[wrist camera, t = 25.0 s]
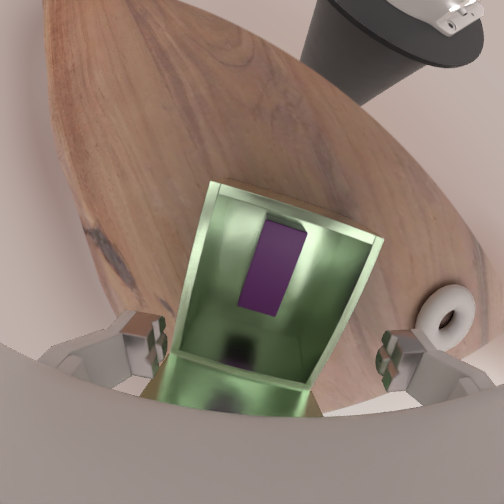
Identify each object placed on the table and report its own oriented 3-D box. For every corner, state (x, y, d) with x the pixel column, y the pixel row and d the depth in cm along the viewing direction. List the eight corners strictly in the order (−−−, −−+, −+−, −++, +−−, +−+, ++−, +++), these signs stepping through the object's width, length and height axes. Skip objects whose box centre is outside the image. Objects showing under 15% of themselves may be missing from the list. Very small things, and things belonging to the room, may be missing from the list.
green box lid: (82, 479, 7) (90, 519, 7) (374, 525, 7) (332, 559, 7) (169, 352, 23) (160, 392, 23) (311, 390, 23) (294, 426, 23)
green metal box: (227, 177, 27) (210, 180, 19) (352, 219, 28) (384, 238, 19) (192, 309, 32) (169, 353, 23) (301, 341, 32) (309, 390, 24)
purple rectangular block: (266, 214, 27) (265, 219, 25) (304, 226, 28) (308, 233, 25) (239, 293, 30) (236, 306, 27) (274, 304, 30) (275, 317, 27)
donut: (476, 294, 30) (438, 268, 29) (489, 304, 26) (453, 278, 25) (439, 351, 32) (397, 334, 31) (450, 364, 29) (408, 349, 28)
